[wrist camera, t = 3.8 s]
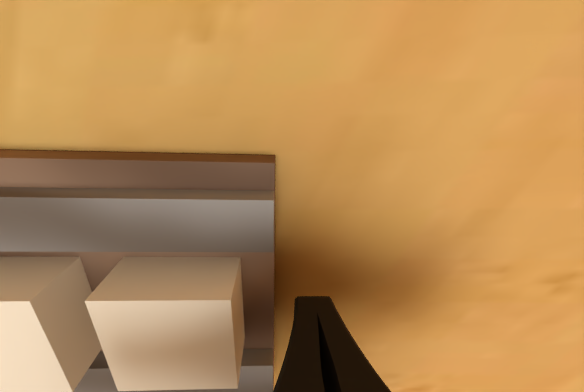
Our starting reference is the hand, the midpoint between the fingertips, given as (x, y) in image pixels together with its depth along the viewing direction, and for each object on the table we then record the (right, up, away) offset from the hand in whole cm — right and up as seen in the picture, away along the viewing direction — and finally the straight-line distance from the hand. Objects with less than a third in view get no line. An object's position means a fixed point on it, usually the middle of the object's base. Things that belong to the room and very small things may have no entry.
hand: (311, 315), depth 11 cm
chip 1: (-11, 0, 0) cm, 11 cm away
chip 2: (-5, 0, 0) cm, 5 cm away
